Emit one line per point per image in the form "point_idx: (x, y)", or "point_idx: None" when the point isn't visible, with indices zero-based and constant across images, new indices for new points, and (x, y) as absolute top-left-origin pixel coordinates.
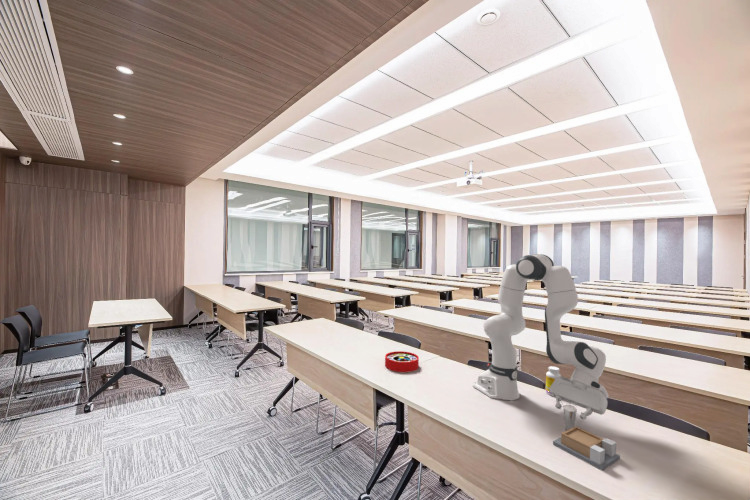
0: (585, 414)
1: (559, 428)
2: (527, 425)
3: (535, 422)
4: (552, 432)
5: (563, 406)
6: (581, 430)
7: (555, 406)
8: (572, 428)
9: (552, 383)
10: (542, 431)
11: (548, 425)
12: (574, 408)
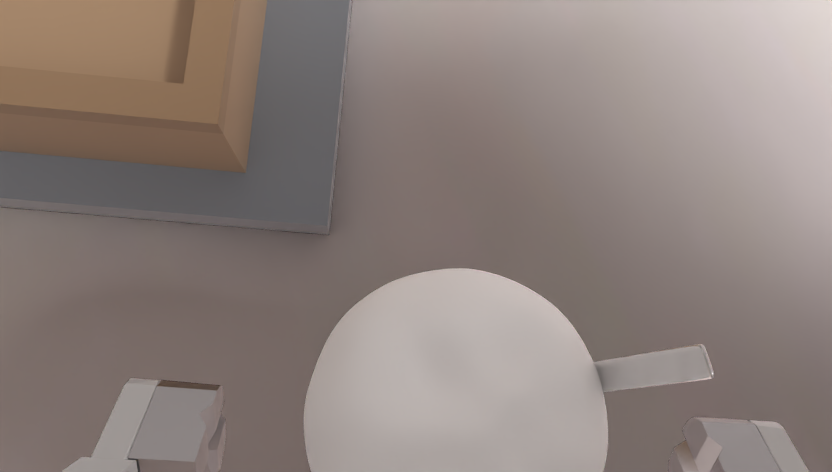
0: (97, 464)
1: None
2: (761, 8)
3: (759, 164)
4: (503, 103)
5: (600, 373)
6: (104, 80)
7: (764, 426)
8: (220, 4)
9: None
10: (584, 23)
11: (627, 235)
12: (342, 406)
